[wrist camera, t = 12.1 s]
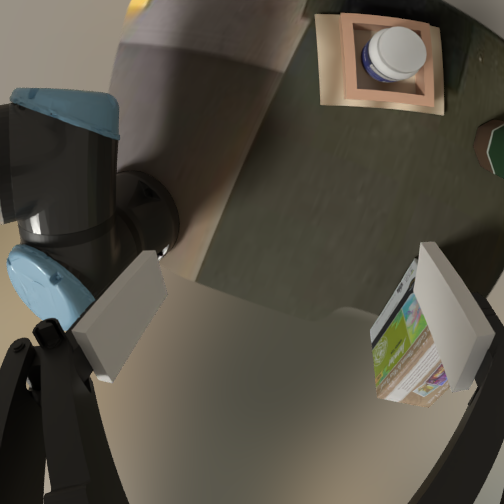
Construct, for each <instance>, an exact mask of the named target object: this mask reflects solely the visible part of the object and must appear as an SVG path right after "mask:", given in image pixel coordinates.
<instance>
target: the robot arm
mask: <svg viewBox="0 0 504 504" xmlns="http://www.w3.org/2000/svg"><path fill="white" fill-rule="evenodd" d="M10 101H11V102H12V103H9V104H4V105H0V224H1V225H2V224H6V223H10V222H14V221H18V227H19V233H20V239H21V243H20V244H19V245H16V246H14V247H13V249H12V251H11V252H10V253H9V257H8V259H7V271H8V274H9V278H10V280H11V282H12V285H13V287H14V288H15V290H16V292H17V293H18V295H19V297H20V298H21V299H22V300H23V302H24V303H25V304H26V305H27V306H28V307H29V308H30V310H32V312H33V313H34V314H36V315H37V316H38V317H39V318H40V319H42V320H43V321H41V322H40V323H39V324H37V325H36V327H35V328H34V329H33V332H32V333H33V334H34V336H35V338H36V340H37V342H38V343H39V345H40V346H33V345H32V343H31V342H30V340H29V339H28V338H20V339H17V340H16V341H14V342H13V343H12V344H11V345H10V348H9V349H8V351H7V353H6V356H5V358H4V361H3V363H2V366H1V368H0V504H43V494H44V475H45V463H46V459H47V466H48V472H49V478H50V484H51V492H49V493H46V494H45V495H44V504H129V502H128V499H127V497H126V494H125V492H124V490H123V486H122V484H121V481H120V478H119V475H118V473H117V470H116V467H115V464H114V461H113V458H112V455H111V451H110V448H109V445H108V441H107V438H106V434H105V431H104V427H103V424H102V420H101V416H100V412H99V408H98V404H97V399H96V395H95V391H94V386H93V382H92V380H91V378H90V374H91V373H92V371H94V373H95V374H96V376H97V378H98V379H99V380H101V381H105V382H110V383H113V382H114V380H115V379H116V377H117V375H118V374H119V372H120V370H121V368H122V367H123V365H124V364H125V362H126V360H127V359H128V357H129V355H130V354H131V352H132V351H133V349H134V347H135V346H136V344H137V342H138V341H139V339H140V338H141V336H142V334H143V333H144V331H145V329H146V328H147V326H148V325H149V323H150V322H151V320H152V318H153V317H154V315H155V314H156V312H157V311H158V309H159V308H160V306H161V304H162V303H163V301H164V300H165V298H166V297H167V295H168V293H167V290H166V286H165V283H164V279H163V276H162V273H161V269H160V265H159V260H161V259H162V258H163V257H164V256H165V255H166V254H167V253H168V252H169V251H170V250H171V248H172V247H173V246H174V244H175V242H176V239H177V236H178V232H179V216H178V212H177V208H176V205H175V203H174V201H173V199H172V197H171V195H170V194H169V192H168V191H167V190H166V188H165V187H164V186H163V185H162V184H161V183H160V182H159V181H157V180H156V179H155V178H153V177H151V176H150V175H148V174H145V173H142V172H138V171H124V172H121V173H118V174H116V173H117V154H118V140H120V135H119V105H118V102H117V100H116V99H115V98H114V97H113V96H112V95H110V94H108V93H103V92H94V91H83V90H71V89H70V90H69V89H51V88H16V89H15V90H14V91H13V92H12V95H11V96H10ZM413 292H414V294H415V296H416V299H417V301H418V303H419V305H420V308H421V310H422V313H423V315H424V317H425V320H426V322H427V325H428V327H429V330H430V332H431V335H432V337H433V340H434V342H435V345H436V348H437V350H438V353H439V356H440V359H441V361H442V364H443V367H444V370H445V373H446V376H447V379H448V382H449V385H450V388H451V391H452V392H457V391H463V390H468V389H469V388H470V386H471V385H472V383H473V380H474V379H475V381H476V383H477V386H478V387H477V389H476V391H475V393H474V394H473V396H472V398H471V400H470V401H469V403H468V407H467V409H466V411H465V413H464V415H463V417H462V419H461V421H460V423H459V425H458V427H457V429H456V431H455V432H454V434H453V436H452V438H451V439H450V441H449V443H448V445H447V446H446V448H445V450H444V451H443V453H442V455H441V456H440V458H439V459H438V461H437V463H436V464H435V466H434V467H433V469H432V470H431V472H430V473H429V475H428V476H427V478H426V479H425V481H424V482H423V483H422V485H421V486H420V488H419V489H418V490H417V492H416V493H415V494H414V496H413V497H412V498H411V500H410V501H409V503H408V504H473V503H474V501H475V499H476V497H477V495H478V494H479V492H480V490H481V488H482V486H483V484H484V482H485V480H486V478H487V476H488V474H489V472H490V470H491V468H492V466H493V464H494V462H495V459H496V457H497V455H498V452H499V450H500V448H501V445H502V443H503V440H504V326H503V324H502V323H501V321H500V320H499V318H498V316H497V315H496V313H495V312H494V310H493V309H492V307H491V306H490V304H489V302H488V301H487V299H485V298H484V297H483V296H482V295H480V294H479V293H478V292H477V293H470V291H469V290H468V288H467V287H466V285H465V284H464V282H463V281H462V279H461V278H460V276H459V275H458V273H457V272H456V271H455V269H454V268H453V266H452V265H451V263H450V262H449V261H448V259H447V258H446V256H445V255H444V254H443V252H442V251H441V250H440V248H439V247H438V246H437V244H436V243H435V242H421V243H420V251H419V258H418V265H417V272H416V278H415V284H414V290H413ZM64 330H65V331H66V333H65V332H64ZM26 381H27V383H28V384H29V385H30V387H29V390H27V388H26ZM500 504H504V490H503V494H502V498H501V502H500Z"/></svg>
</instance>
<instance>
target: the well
mask: <svg viewBox="0 0 504 504" xmlns="http://www.w3.org/2000/svg"><path fill="white" fill-rule="evenodd" d="M397 26H399V27H405V28H408V29H410V30H412V31H414V32H415V33H416V34H417V35H418V36H419V37H420V38H421V39H422V41H423V42H424V45H425V47H426V53H427V56H426V61H425V63H424V65H423V66H422V67H421V68H420V69H419V70H418V72H417V73H416V74H415V88H416V95H415V94H408V93H399V92H390V91H379V90H366V89H357V76H356V59H355V45H354V33H353V30H365V31H376V32H378V31H380V30H382V29H386V28H391V27H397ZM339 30H340V42H341V56H342V72H343V94H344V99H349V100H366V101H380V102H391V103H401V104H409V105H417V106H425V107H434V75H433V57H432V45H431V35H430V26H429V23H424V22H418V21H413V20H407V19H400V18H393V17H385V16H377V15H366V14H354V13H341V14H340V17H339Z"/></svg>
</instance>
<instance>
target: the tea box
mask: <svg viewBox="0 0 504 504" xmlns="http://www.w3.org/2000/svg"><path fill="white" fill-rule="evenodd" d="M417 265H418V259H416V258H414V260H413V262H412V264H411V265H410V267H409V268H408V270H407V272H406V273H405V275H404V277H403V279H402V280H401V282H400V284H399V285H398V287H397V288H396V290H395V292H394V294H393V295H392V297H391V299H390V300H389V301H388V303H387V305H386V306H385V308H384V310H383V311H382V313H381V314H380V316H379V317H378V319H377V320H376V322H375V323H374V325H373V326H372V328H371V330H370V334H371V343H372V351H373V359H374V371H375V382H376V392H377V398H381V399H386V400H390V401H395V402H401V403H405V404H411V405H417V406H422V407H428V408H429V407H430V406H431V405H432V404H433V403H434V402H435V401H436V400H437V399H438V398H439V397H440V396H441V395H442V394H443V393H444V392H445V391H446V390H447V389H448V388H449V387H450V385H449V382H448V379H447V376H446V373H445V370H444V367H443V364H442V361H441V359H440V356H439V353H438V350H437V348H436V345H435V342H434V340H433V337H432V335H431V332H430V330H429V327H428V325H427V322H426V320H425V317H424V315H423V313H422V310H421V308H420V305H419V303H418V301H417V299H416V296H415V294H414V292H413V290H414V284H415V278H416V272H417ZM460 278H461V277H460ZM462 281H463V280H462Z"/></svg>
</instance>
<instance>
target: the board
mask: <svg viewBox="0 0 504 504" xmlns="http://www.w3.org/2000/svg"><path fill="white" fill-rule="evenodd" d="M339 17H340V15H332V14H315V24H316V36H317V49H318V64H319V82H320V105H340V106H361V107H376V108H388V109H398V110H407V111H416V112H424V113H431V114H438V115H444V81H443V62H442V48H441V38H440V29H439V28H438V27H434V26H430V35H431V45H432V57H433V75H434V107H425V106H417V105H409V104H401V103H391V102H380V101H366V100H349V99H344V94H343V72H342V56H341V42H340V30H339ZM353 33H354V45H355V59H356V76H357V89H366V90H379V91H390V92H399V93H408V94H415V95H416V88H415V75H414V76H412V77H410V78H408V79H405V80H400V81H396V82H391V83H383V82H379V81H376V80H375V79H373V78H371V77H370V76H369V75H368V74H367V73H366V72H365V70H364V69H363V67H362V64H361V59H360V56H361V51H362V49H363V47H364V46H365V44H366V43H367V42H368V41H369V40H370V39H371V38H372V36H373V35H374V34H375V33H377V32H376V31H365V30H353Z"/></svg>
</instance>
